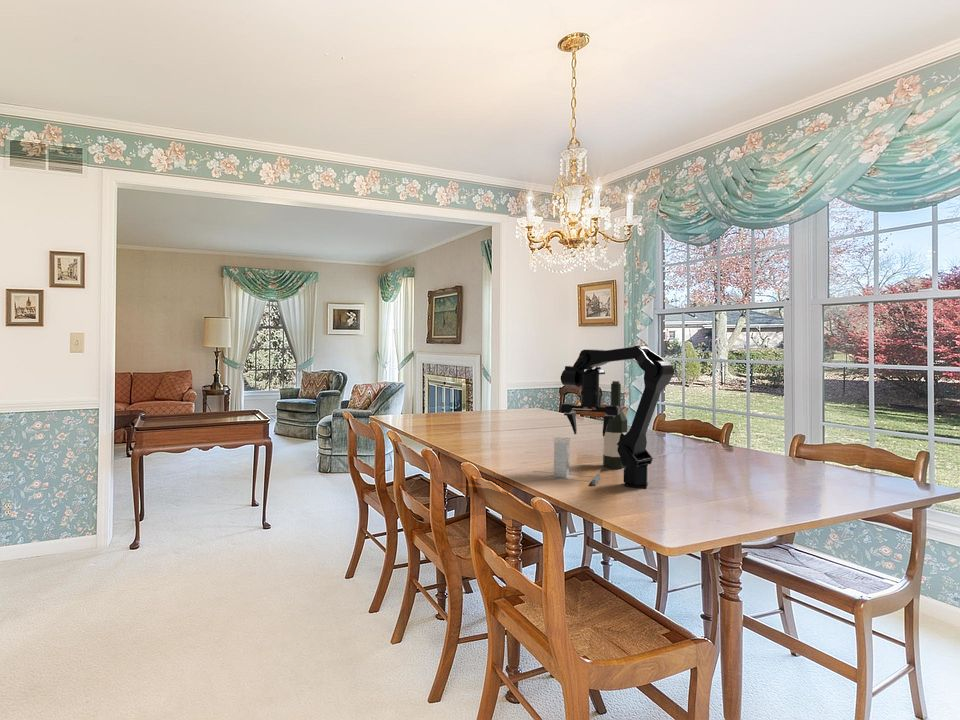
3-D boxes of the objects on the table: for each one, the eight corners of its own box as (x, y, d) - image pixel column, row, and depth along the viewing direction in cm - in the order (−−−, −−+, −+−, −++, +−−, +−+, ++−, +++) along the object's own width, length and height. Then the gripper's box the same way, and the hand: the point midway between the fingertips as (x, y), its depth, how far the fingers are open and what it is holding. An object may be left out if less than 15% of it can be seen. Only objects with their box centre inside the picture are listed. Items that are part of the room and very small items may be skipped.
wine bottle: (598, 464, 199) (599, 380, 198) (618, 463, 201) (620, 380, 200) (610, 469, 191) (611, 382, 190) (631, 468, 193) (633, 381, 192)
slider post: (569, 475, 179) (570, 438, 178) (566, 478, 175) (567, 440, 174) (556, 473, 180) (556, 437, 180) (553, 476, 176) (553, 439, 176)
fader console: (600, 478, 177) (600, 473, 177) (595, 485, 169) (595, 479, 169) (530, 472, 186) (530, 467, 186) (522, 478, 178) (522, 472, 177)
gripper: (622, 387, 186) (621, 433, 187) (567, 385, 193) (566, 429, 194) (617, 389, 176) (617, 438, 177) (559, 387, 183) (559, 434, 183)
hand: (589, 435), depth 183 cm, fingers open, 9 cm apart
